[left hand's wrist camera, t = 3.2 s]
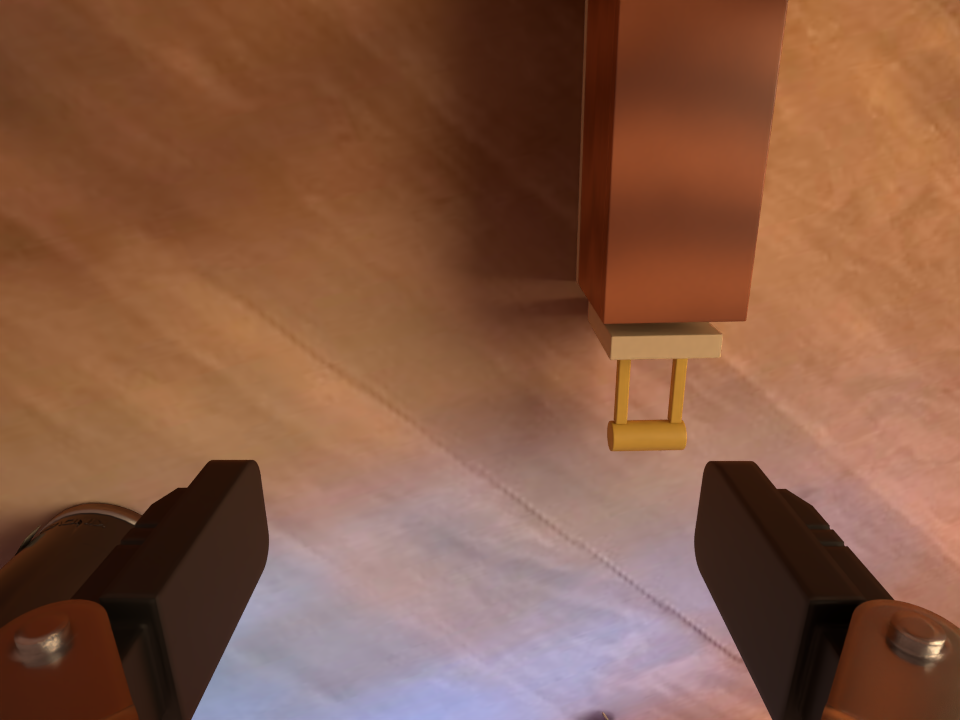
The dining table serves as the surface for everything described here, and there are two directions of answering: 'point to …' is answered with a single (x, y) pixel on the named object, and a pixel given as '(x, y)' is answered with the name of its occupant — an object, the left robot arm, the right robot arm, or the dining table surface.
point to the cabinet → (674, 155)
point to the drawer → (652, 344)
